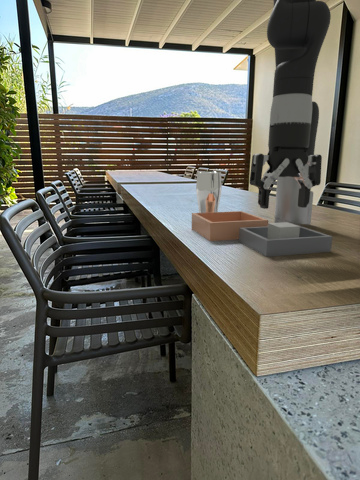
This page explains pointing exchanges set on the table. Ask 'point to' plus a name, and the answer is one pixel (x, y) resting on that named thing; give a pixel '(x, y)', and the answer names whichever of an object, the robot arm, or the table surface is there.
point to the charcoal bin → (285, 242)
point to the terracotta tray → (224, 224)
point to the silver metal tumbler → (208, 191)
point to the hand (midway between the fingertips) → (283, 207)
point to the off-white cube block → (283, 230)
